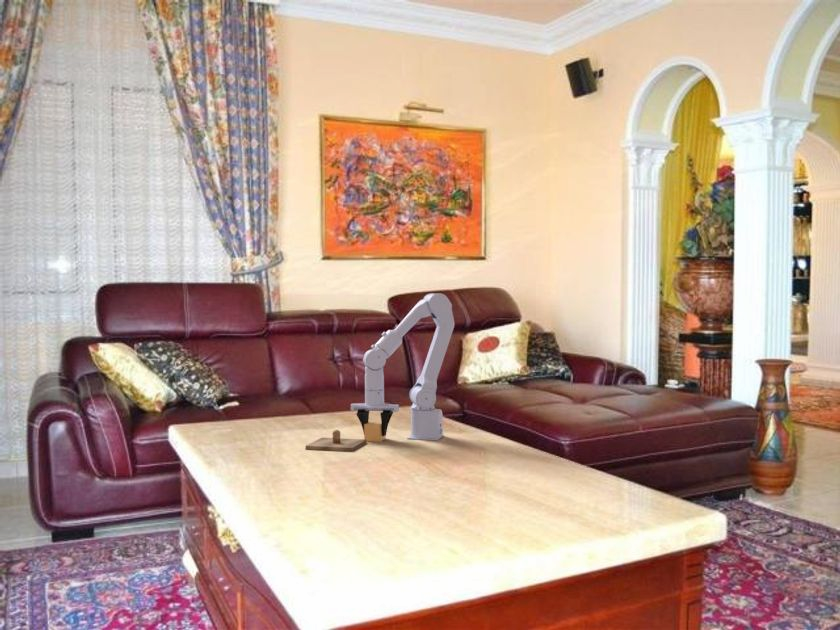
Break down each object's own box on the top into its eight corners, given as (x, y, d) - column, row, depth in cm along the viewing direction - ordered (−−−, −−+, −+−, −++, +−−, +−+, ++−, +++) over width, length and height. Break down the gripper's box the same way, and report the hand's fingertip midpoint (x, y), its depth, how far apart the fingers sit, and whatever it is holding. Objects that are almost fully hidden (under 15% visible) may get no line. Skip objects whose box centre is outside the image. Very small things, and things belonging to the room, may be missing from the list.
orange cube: (385, 438, 223) (385, 422, 223) (380, 441, 219) (380, 424, 218) (369, 437, 225) (369, 421, 225) (364, 441, 220) (364, 424, 220)
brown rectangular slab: (366, 442, 217) (366, 426, 217) (352, 451, 205) (352, 434, 205) (322, 441, 221) (321, 425, 221) (305, 449, 209) (305, 432, 209)
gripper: (346, 390, 219) (347, 436, 220) (393, 392, 215) (394, 438, 216) (355, 387, 226) (355, 432, 226) (400, 389, 222) (401, 434, 223)
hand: (375, 435), depth 222 cm, fingers closed on orange cube, 5 cm apart
